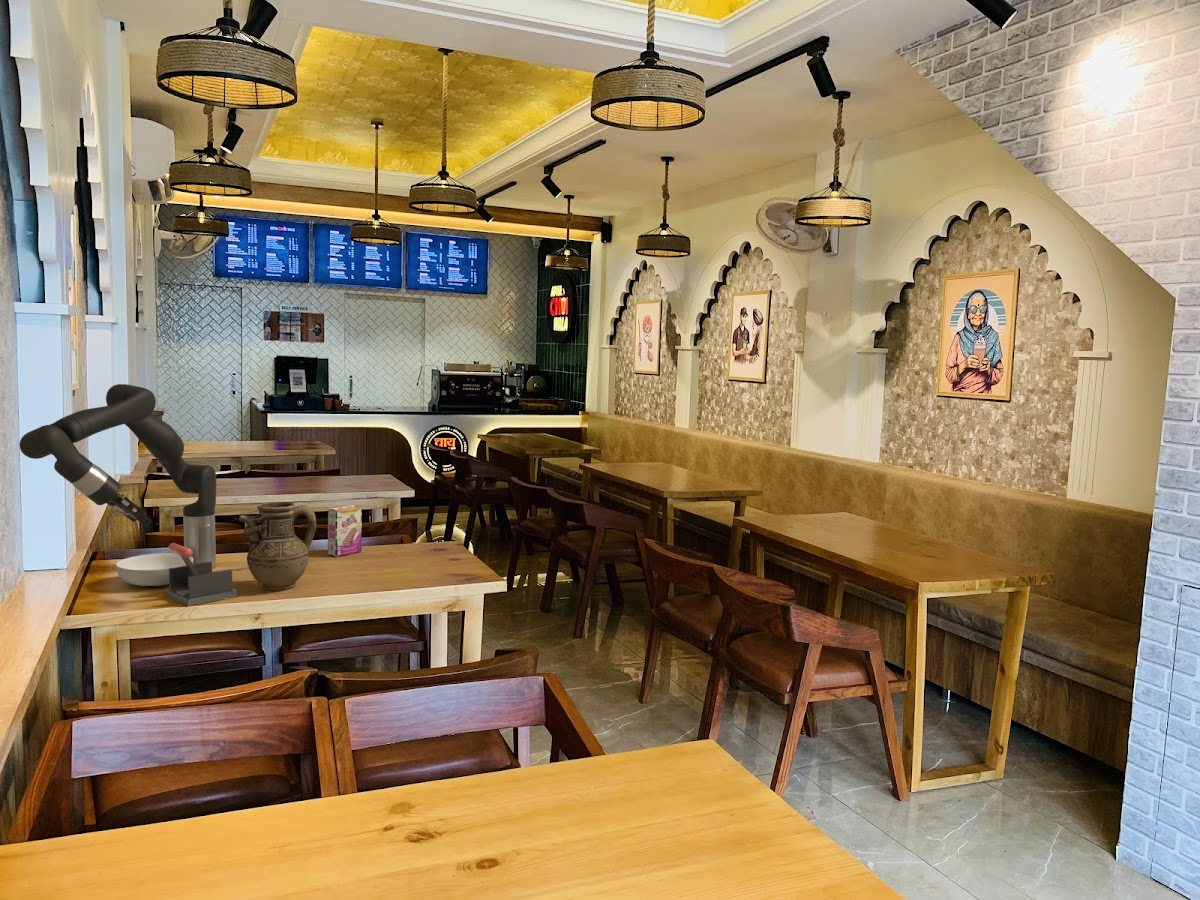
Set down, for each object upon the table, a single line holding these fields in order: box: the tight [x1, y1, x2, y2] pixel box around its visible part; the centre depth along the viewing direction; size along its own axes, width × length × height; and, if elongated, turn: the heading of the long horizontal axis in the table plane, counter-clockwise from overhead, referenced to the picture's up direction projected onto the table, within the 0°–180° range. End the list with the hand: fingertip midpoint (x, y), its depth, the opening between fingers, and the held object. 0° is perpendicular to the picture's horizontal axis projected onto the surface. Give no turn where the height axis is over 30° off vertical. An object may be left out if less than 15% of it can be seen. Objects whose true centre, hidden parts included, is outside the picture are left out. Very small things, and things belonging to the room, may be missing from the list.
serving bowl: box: [115, 552, 193, 587], centre depth 271 cm, size 21×21×7 cm
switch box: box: [164, 562, 238, 607], centre depth 257 cm, size 14×15×8 cm
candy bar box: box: [327, 504, 363, 558], centre depth 313 cm, size 11×5×16 cm, turn 144°
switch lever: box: [168, 542, 199, 576], centre depth 255 cm, size 2×10×13 cm, turn 48°
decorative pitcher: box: [238, 501, 317, 591], centre depth 268 cm, size 22×18×25 cm
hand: (142, 521), depth 244 cm, fingers open, 8 cm apart
